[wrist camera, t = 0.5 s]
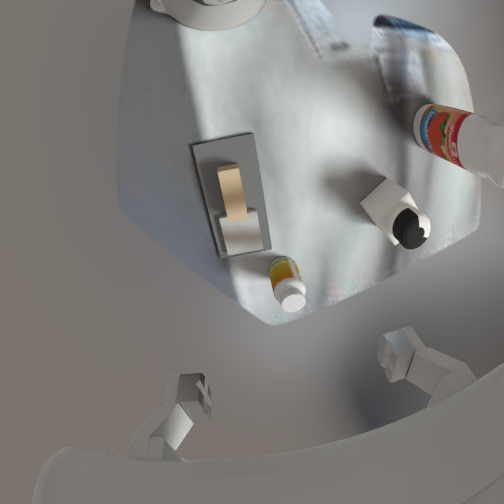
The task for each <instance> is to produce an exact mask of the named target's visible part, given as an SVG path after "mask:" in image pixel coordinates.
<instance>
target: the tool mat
mask: <svg viewBox="0 0 504 504" xmlns="http://www.w3.org/2000/svg"><path fill="white" fill-rule="evenodd" d="M193 151H194V155H195V159H196V163H197V167H198V172H199V176H200V180H201V184H202V188H203V192H204V196H205V200H206V204H207V208H208V212H209V216H210V220H211V223H212V227H213V231H214V235H215V239H216V242H217V246H218V250H219V254H220V257H221V259H223V258H228V257H233V256H238V255H244V254H249V253H254V252H260V251H265V250H270V249H272V247H271V240H270V233H269V227H268V220H267V214H266V207H265V201H264V195H263V188H262V182H261V176H260V170H259V164H258V158H257V152H256V146H255V140H254V134H253V133H252V134H246V135H240V136H235V137H229V138H224V139H219V140H215V141H210V142H205V143H201V144H197V145H193ZM235 163H238V166H239V172H240V177H241V182H242V187H243V193H244V198H245V203H246V208H247V211H248V210H254V209H256V210H257V215H258V221H259V227H260V233H261V238H262V244H263V249H261V250H255V251H250V252H245V253H239V254H234V255H229V256H228V253H227V249H226V245H225V241H224V237H223V233H222V228H221V224H220V220H219V216H223V215H227V213H226V208H225V204H224V199H223V195H222V190H221V186H220V181H219V177H218V167H220V166H225V165H230V164H235Z"/></svg>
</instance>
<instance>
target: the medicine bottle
mask: <svg viewBox="0 0 504 504" xmlns="http://www.w3.org/2000/svg"><path fill="white" fill-rule="evenodd" d="M360 204H361V206H362V207H363V208H364V209H365V211H366V212H367V213H368V215H369V216H370V217H371V219H372V220H373V222H374V223H375V224H376V226H377V227H378V228H379V229H380V230H381V231H382V232H383V233H384V234H385V235H386V236H387V238H388V239H389V240H390V241H391V242H392V243H393V244H394V245H397V244H398V243H399V242H400V244H401V245H402V246H403V247H404V248H406V249H415V248H418V247H419V246H421V245H422V244H423V243H424V242H425V241H426V239H427V238H428V236H429V233H430V221H429V219H428V217H427V216H425V215H424V214H423V213H422V212H420V211H419V210H418V208H417V206H416V204H415V203H414V201H413V199H412V197H411V195H410V194H409V192H408V191H407V190H405V189H404V188H402V187H401V186H399V185H398V184H396V183H395V182H393V181H392V180H390V179H389V178H386V179H385V180H384V181H383V182H382V183H381V184H380V185H379V186H377V187H376V188H375V189H374V190H373V191H372V192H371V193H370V194H369V195H368V196H367V197H365V198H364V199H363V200H362V201H361V202H360Z"/></svg>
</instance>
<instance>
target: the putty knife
mask: <svg viewBox="0 0 504 504" xmlns="http://www.w3.org/2000/svg"><path fill="white" fill-rule="evenodd" d="M218 177H219V181H220V186H221V190H222V195H223V199H224V204H225V208H226V213H227V215H223V216H219V220H220V224H221V228H222V233H223V237H224V241H225V245H226V249H227V253H228V256H229V255H234V254H239V253H245V252H250V251H255V250H261V249H263V244H262V238H261V233H260V227H259V221H258V215H257V210H256V209H254V210H248V211H247V208H246V203H245V198H244V193H243V187H242V182H241V177H240V172H239V166H238V163H235V164H230V165H225V166H220V167H218Z"/></svg>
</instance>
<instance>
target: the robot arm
mask: <svg viewBox="0 0 504 504" xmlns="http://www.w3.org/2000/svg"><path fill="white" fill-rule="evenodd" d="M264 2H265V0H150V7H151V9H152V10H153V11H155V12H159V13H163V14H168V15H170V16H172V17H173V18H175V19H176V20H177V21H179V22H180V23H182V24H183V25H186V26H188V27H191V28H194V29H198V30H206V31H216V30H224V29H228V28H232V27H235V26H238V25H240V24H242V23H244V22H246V21H247V20H249V19H250V18H252V17H253V16H254V15H255V14H256V13H257V12H258V11H259V10H260V8H261V7H262V5H263V3H264ZM380 343H381V345H380V346H379V348H378V359H379V362H380V364H381V366H383V367H384V368H386V371H385V374H386V376H387V378H388V379H389V381H390V383H391V382H394V381H398V380H400V379H403V378H406V379H407V380H409V381H410V382H412V383H413V384H415V385H416V386H418V387H419V388H421V389H423V390H424V391H426V392H427V393H429V394H430V395H432V398H431V399H430V401H429V403H428V405H427V407H428V408H426V409H424V410H422V411H420V412H418V413H415V414H413V415H411V416H409V417H406V418H404V419H401V420H399V421H396V422H394V423H391V424H388V425H386V426H383V427H381V428H378V429H375V430H372V431H369V432H366V433H363V434H360V435H357V436H353V437H350V438H347V439H343V440H340V441H336V442H333V443H329V444H325V445H320V446H316V447H312V448H307V449H303V450H297V451H292V452H287V453H281V454H275V455H268V456H260V457H252V458H242V459H230V460H212V461H185V459H184V458H183V457H182V456H181V455H180V454H178V453H177V452H176V449H177V448H178V446H179V445H180V443H181V442H182V440H183V439H184V437H185V435H186V434H187V433H188V431H189V430H190V428H191V427H192V425H193V423H196V422H209V421H211V408H210V406H209V404H210V403H211V399H212V398H211V397H212V396H211V390H210V387H209V384H208V383H207V382H205V376H204V374H203V373H193V374H179V375H170V377H169V379H168V385H167V391H166V397H165V403H161V405H160V406H159V407H158V408H157V409H156V410H155V411H154V412H153V413H152V414H151V415H150V417H149V418H148V419H147V420H146V421H145V422H144V423H143V424H142V425H141V426H140V427H139V428H138V429H137V430H136V431H135V432H134V433H133V435H132V438H131V443H130V448H129V454H128V457H122V456H115V455H109V454H103V453H97V452H91V451H87V450H82V449H78V448H73V447H64V448H63V449H61V450H59V451H58V452H56V453H55V454H54V455H53V456H52V457H50V458H49V459H48V460H47V461H46V462H45V463H44V465H43V467H42V469H41V471H40V474H39V477H38V480H37V483H36V487H35V491H34V495H33V499H32V503H31V504H504V363H503V364H501V365H500V366H498V367H497V368H495V369H494V370H493V371H491V372H490V373H488V374H487V375H485V376H484V377H482V378H480V379H479V380H476V378H475V376H474V375H473V374H472V372H471V371H470V369H469V368H468V367H467V365H466V364H465V363H463V362H461V361H458V360H457V359H454V358H452V357H450V356H447V355H445V354H443V353H441V352H438V351H436V350H434V349H432V348H429V347H428V348H426V347H425V346H424V344H423V343H422V342H421V340H420V339H419V337H418V336H417V335H416V333H415V332H414V331H413V329H412V328H411V327H409V326H408V327H405V328H402V329H400V330H396V331H393V332H390V333H387V334H384V335H382V336H381V337H380Z"/></svg>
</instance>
